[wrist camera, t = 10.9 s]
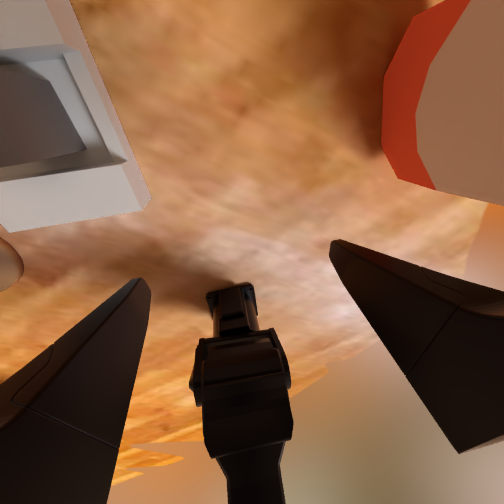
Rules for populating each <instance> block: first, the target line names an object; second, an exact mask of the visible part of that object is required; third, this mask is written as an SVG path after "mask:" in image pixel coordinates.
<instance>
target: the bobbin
mask: <svg viewBox="0 0 504 504" xmlns="http://www.w3.org/2000/svg"><path fill="white" fill-rule="evenodd" d="M23 271H24V265H23V261H22V259H21V257H20V256H19V254H18V253H17V251H16V250H15V249H14V248H13V247H12V246H11V245H10V244H9V243H7V242H6V241H5V240H3V239H2V238H1V237H0V291H3V290H5V289H7V288H9V287H10V286H11V285H12V284H13V283H15V282H16V281H17V280H18V279H20V277H21V276H22V274H23Z"/></svg>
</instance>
